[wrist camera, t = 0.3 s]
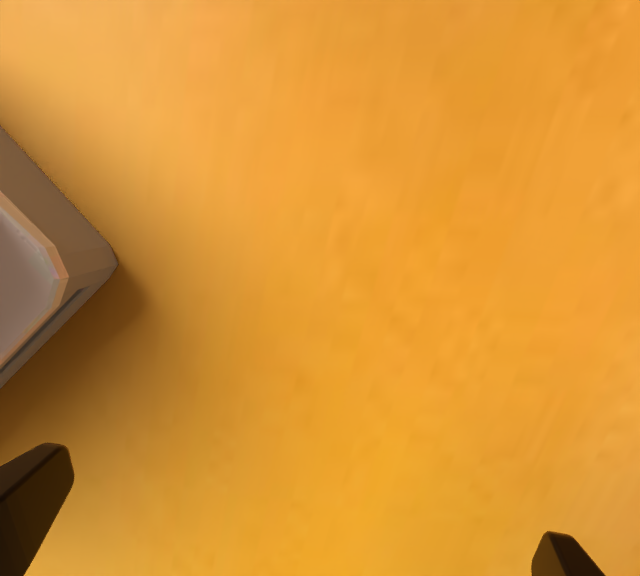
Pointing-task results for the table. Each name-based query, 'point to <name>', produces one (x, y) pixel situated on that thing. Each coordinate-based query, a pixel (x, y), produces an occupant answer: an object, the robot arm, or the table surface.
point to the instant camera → (41, 258)
